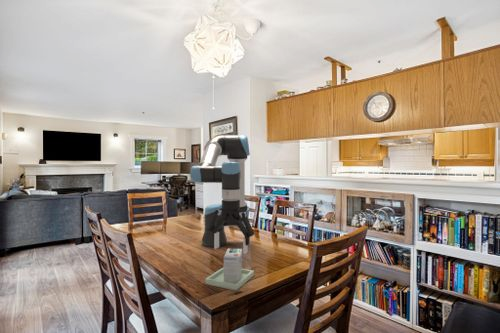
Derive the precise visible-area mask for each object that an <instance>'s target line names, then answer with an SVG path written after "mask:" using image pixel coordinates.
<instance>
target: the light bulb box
mask: <svg viewBox="0 0 500 333" xmlns="http://www.w3.org/2000/svg"><path fill="white" fill-rule="evenodd" d="M223 267H224V276H223V282H228V283H237V282H238V281H240V279H241V274H242V269H243V248H227V249H226V252H225V253H224V255H223Z"/></svg>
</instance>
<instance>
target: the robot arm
mask: <svg viewBox="0 0 500 333" xmlns="http://www.w3.org/2000/svg"><path fill="white" fill-rule="evenodd" d="M203 150H204V152H203V155H202V157H201V159H200V161H199V164H198V165H193V166H191V168H190V171H189V172H190V173H189V176H190V177H189V178H190V180H191V182H192V183H198V184H199V183H200V184H204V183H206V184H208V183H209V184H212V183H214V184H216V183H218V184H219V183H221V199H222V200H221V203H215V204H210V205H209V204H208V205H207V206H206V207H205V208H204V232H203V235H202V238H201V245H202V246H203V247H208V248H211V247H212V248H214V250H217V249H218V248H220V247H223V246H225V245H227V244H228V238H227V235H226V234H227V233H226V232H225V227H237V228H239V230H240V232H241V233H242V234H243V238H242V244H243V245H242V255H246V254H247V253H249V252H248V251H249V250H248V249H249V245H250V241H251V240H250V239H251V237H253V236H254V235H255V232H254V229H253V227H252V225H251V223H250V220H249V216H250V206H248V202H246V198H245V196H246V194H245V193H246V192H245V191H246V190H245V188H246V187H245V186H246V182H245V181H246V180H245V178H246V177H245V176H246V175H245V170H246V168H245V167H246V164H245V163H246V160H248V156H250V154H251V153H250V145H249V139H248V136H246V135H242V134H229V135H228V134H227V135H226V134H221V135H217V136H214V137H212V138H210V139H209V140H208V141H206V143H205V144H204V148H203ZM220 156H226V159H227V160H228V161H223V162H222V163H221V165H217V162H218V158H219V157H220Z"/></svg>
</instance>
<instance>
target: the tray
mask: <svg viewBox="0 0 500 333" xmlns="http://www.w3.org/2000/svg"><path fill="white" fill-rule="evenodd" d="M223 276H224V266H223V267H222V268H220V269H218V270H216V271H215V272H214V273H212V274H210V275H209V276H207V277H206V278H205V281H204V282H205V283H204V284H205V285H210V286H212V287H213V286H214V287H218V288H222V289H227V290H231V291H234V292H235V291H236V292H237V291H238V290H239V289H240V288H242V286H244V285H245V284H246V283H247V282H248V281H249V280H250V279H252V278H253V277H254V276H255V270H254V269H253V270H251V269H247V268H242V274H241V279H240V281H238V282H237V283H228V282H223Z"/></svg>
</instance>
